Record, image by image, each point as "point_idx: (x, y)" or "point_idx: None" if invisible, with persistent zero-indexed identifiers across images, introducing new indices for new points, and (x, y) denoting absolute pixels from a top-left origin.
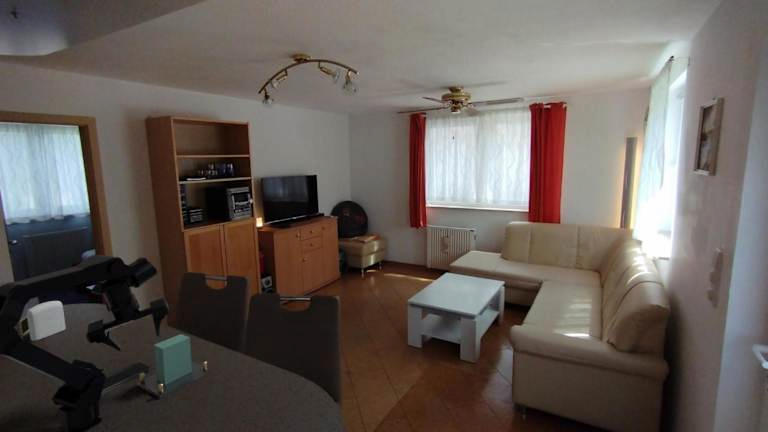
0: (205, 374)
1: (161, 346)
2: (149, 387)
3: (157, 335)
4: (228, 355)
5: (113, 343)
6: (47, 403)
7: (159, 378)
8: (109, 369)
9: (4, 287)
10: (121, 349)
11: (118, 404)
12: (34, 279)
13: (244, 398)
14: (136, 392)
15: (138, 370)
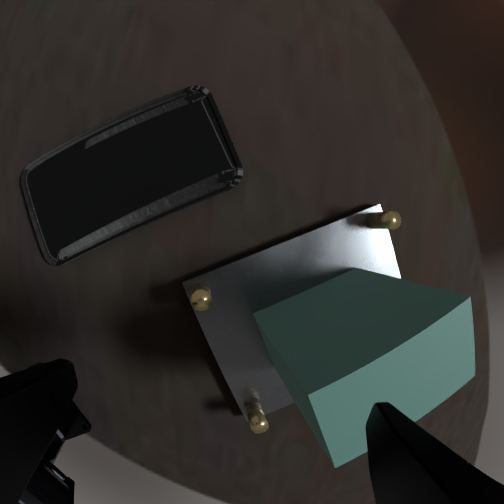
0: None
1: (341, 437)
2: (220, 353)
3: (369, 443)
4: (467, 254)
5: (15, 495)
6: None
7: (263, 337)
8: (109, 71)
9: None
10: (73, 373)
11: (121, 370)
12: None
13: None
14: (175, 330)
15: (196, 159)
